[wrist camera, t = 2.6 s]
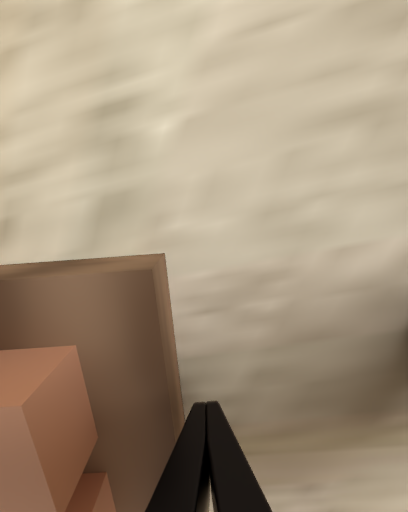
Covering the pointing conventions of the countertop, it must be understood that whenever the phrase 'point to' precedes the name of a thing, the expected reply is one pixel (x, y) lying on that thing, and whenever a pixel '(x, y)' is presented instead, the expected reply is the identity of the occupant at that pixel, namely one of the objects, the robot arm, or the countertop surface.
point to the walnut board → (108, 356)
